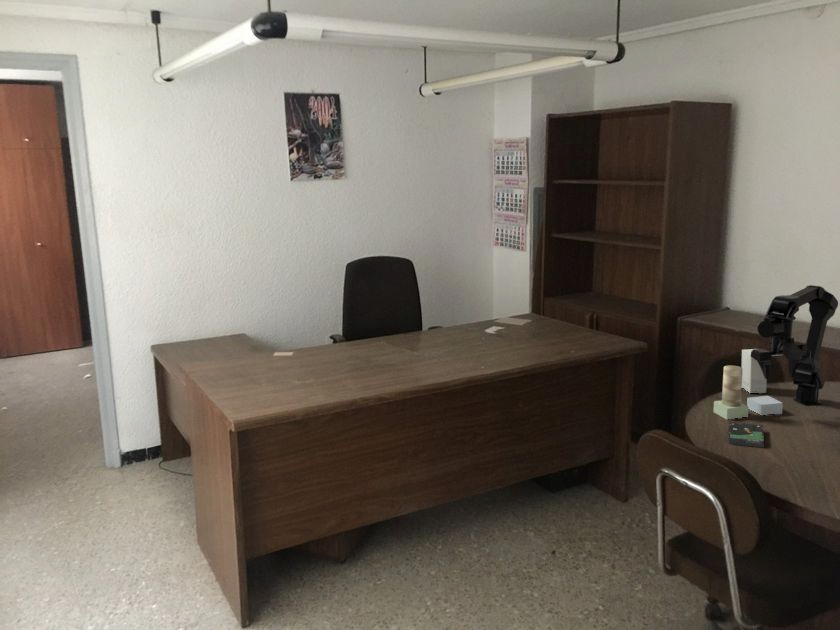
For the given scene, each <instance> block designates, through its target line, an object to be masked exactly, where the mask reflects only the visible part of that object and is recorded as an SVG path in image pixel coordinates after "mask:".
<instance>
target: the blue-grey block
mask: <svg viewBox="0 0 840 630" xmlns="http://www.w3.org/2000/svg"><path fill="white" fill-rule="evenodd" d="M746 399H747V401H746V405H747V406H749V409H750V410H749V409H748V410H749V411H751V410H752V411H751V412H753V411H754V412H756V413H758V414H760V415H766V416H768V415H767V414H775V415H782V414H783V406H784V405H783V402H781V401H780V400H777V399H776V398H774V397H771V396H769V395H762V396H752V397H747V398H746ZM754 412H753V413H754ZM756 413H755V414H756ZM758 414H757V415H758ZM760 415H759V416H760Z"/></svg>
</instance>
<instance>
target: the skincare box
mask: <svg viewBox="0 0 840 630" xmlns="http://www.w3.org/2000/svg"><path fill="white" fill-rule="evenodd" d="M753 349H754V348H751V349H747V348H746V349H741V367H742V368H743V372H742V388H744V389H745V390H746V392H747V391H748V392H749V393H748V392H747V393H748V394H750V393H759V394H766V393H767V380H768V379H765V377H764V375H763V373H762V370H761V368H760V366H759V364H758V362H757V360H754V358H752V357H751V351H752V350H753ZM744 389H743V390H744ZM745 390H744V391H745Z"/></svg>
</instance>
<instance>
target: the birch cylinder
mask: <svg viewBox="0 0 840 630" xmlns="http://www.w3.org/2000/svg"><path fill="white" fill-rule="evenodd" d="M742 372H743V368H742V366H739V365H732V364H731V365H725V366H723V372H722V373H723V375H722V391H721V392H722V394H721V400H722V404H723V405H725V406H730V407H737V406H740V405H741V403H742Z"/></svg>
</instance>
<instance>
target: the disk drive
mask: <svg viewBox="0 0 840 630" xmlns="http://www.w3.org/2000/svg"><path fill="white" fill-rule="evenodd" d="M764 437H765V436H764V426H763V424H754V423H738V422H736V421H729V422H728V435H727V445H734V446H735V445H736V446H744V447H746V446H747V447H751V446H753V448H760V447H764V446H765V438H764ZM764 448H765V447H764Z"/></svg>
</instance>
